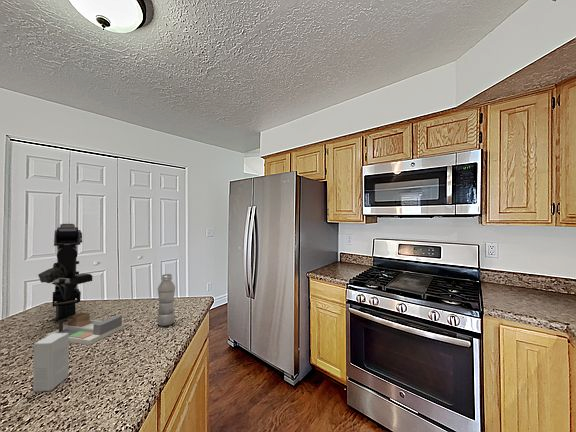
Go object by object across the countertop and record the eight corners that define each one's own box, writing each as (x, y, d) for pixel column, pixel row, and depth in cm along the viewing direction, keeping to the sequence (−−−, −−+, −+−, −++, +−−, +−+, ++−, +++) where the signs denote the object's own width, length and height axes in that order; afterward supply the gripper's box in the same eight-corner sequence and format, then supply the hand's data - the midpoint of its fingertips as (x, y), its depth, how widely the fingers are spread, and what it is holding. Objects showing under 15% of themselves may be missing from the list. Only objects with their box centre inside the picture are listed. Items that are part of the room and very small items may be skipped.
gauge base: (45, 338, 92) (46, 324, 92) (84, 323, 106) (84, 310, 106) (89, 344, 88) (89, 330, 88) (123, 328, 102) (123, 315, 102)
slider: (53, 333, 93) (53, 320, 93) (81, 322, 103) (81, 311, 103) (62, 334, 92) (62, 321, 92) (89, 323, 102) (89, 312, 102)
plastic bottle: (168, 328, 102) (169, 277, 102) (153, 327, 103) (154, 276, 103) (178, 322, 108) (179, 273, 108) (164, 320, 110) (164, 273, 110)
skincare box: (51, 377, 70) (52, 332, 70) (68, 376, 71) (69, 332, 71) (31, 392, 64) (32, 343, 64) (50, 391, 64) (51, 342, 65)
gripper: (23, 261, 96) (22, 304, 96) (64, 264, 92) (63, 308, 91) (56, 257, 107) (55, 295, 106) (94, 259, 102) (93, 299, 102)
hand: (66, 299), depth 101 cm, fingers closed
